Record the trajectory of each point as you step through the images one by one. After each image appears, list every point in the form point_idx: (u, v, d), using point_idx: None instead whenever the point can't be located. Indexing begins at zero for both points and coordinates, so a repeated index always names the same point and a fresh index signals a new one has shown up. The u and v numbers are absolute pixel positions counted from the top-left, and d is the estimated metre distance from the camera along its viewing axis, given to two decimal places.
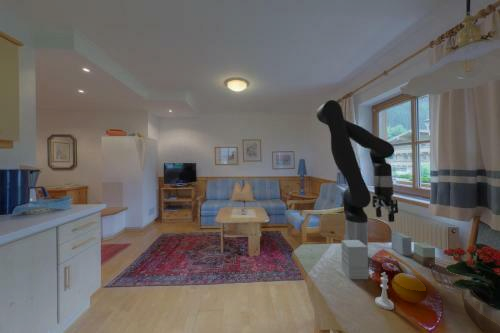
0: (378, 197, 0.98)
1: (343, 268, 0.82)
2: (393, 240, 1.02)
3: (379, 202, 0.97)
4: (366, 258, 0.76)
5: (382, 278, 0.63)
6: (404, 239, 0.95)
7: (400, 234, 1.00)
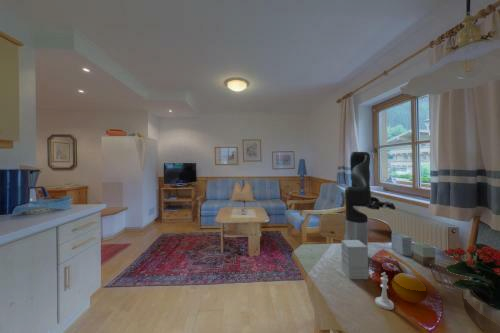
0: (371, 202, 1.20)
1: (343, 268, 0.82)
2: (393, 240, 1.02)
3: (375, 202, 1.18)
4: (366, 258, 0.76)
5: (382, 278, 0.63)
6: (404, 239, 0.95)
7: (400, 234, 1.00)
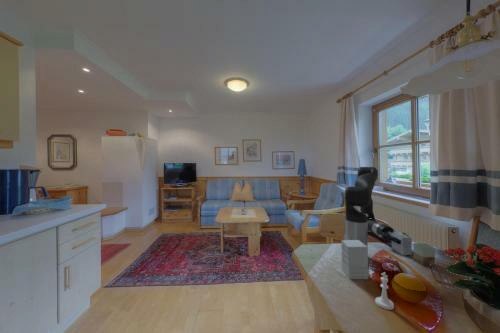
0: (385, 232, 1.08)
1: (343, 268, 0.82)
2: None
3: None
4: (366, 258, 0.76)
5: (382, 278, 0.63)
6: (404, 239, 0.95)
7: (400, 234, 1.00)
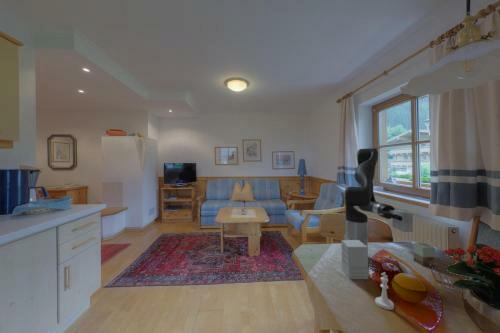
0: (386, 210, 1.07)
1: (343, 268, 0.82)
2: None
3: None
4: (366, 258, 0.76)
5: (382, 278, 0.63)
6: (405, 215, 0.95)
7: (401, 211, 0.99)
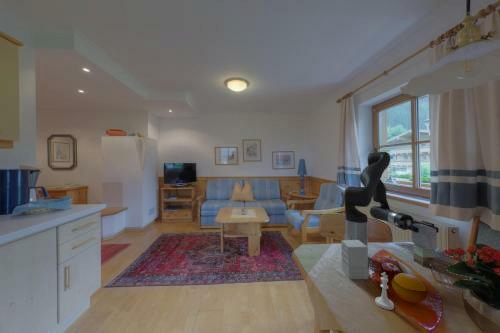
0: (404, 221, 0.96)
1: (343, 268, 0.82)
2: (414, 232, 0.90)
3: (410, 222, 0.94)
4: (366, 258, 0.76)
5: (382, 278, 0.63)
6: (428, 230, 0.84)
7: (422, 225, 0.89)
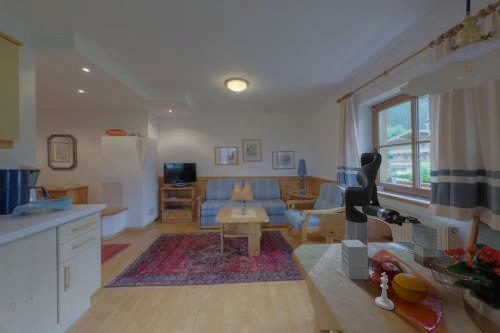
0: (391, 216, 1.06)
1: (343, 268, 0.82)
2: (414, 232, 0.90)
3: (396, 216, 1.04)
4: (366, 258, 0.76)
5: (382, 278, 0.63)
6: (428, 230, 0.84)
7: (423, 225, 0.89)
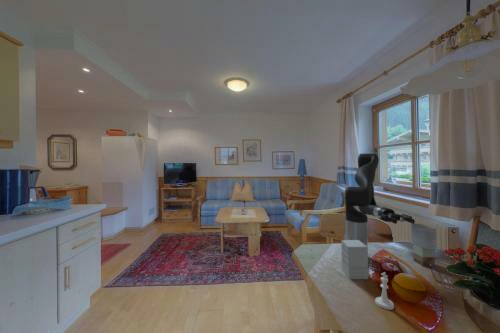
0: (387, 214, 1.09)
1: (343, 268, 0.82)
2: (414, 232, 0.91)
3: (391, 215, 1.07)
4: (366, 258, 0.76)
5: (382, 278, 0.63)
6: (428, 230, 0.84)
7: (422, 225, 0.89)
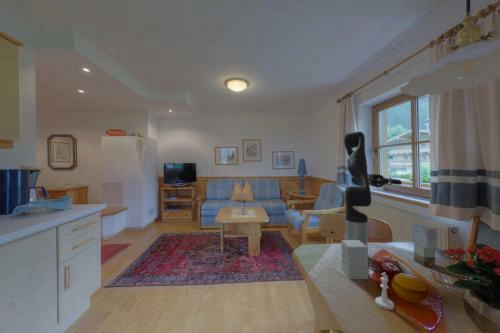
0: (376, 179, 1.15)
1: (343, 268, 0.82)
2: (415, 232, 0.90)
3: (380, 179, 1.13)
4: (366, 258, 0.76)
5: (382, 278, 0.63)
6: (429, 230, 0.84)
7: (423, 225, 0.89)
